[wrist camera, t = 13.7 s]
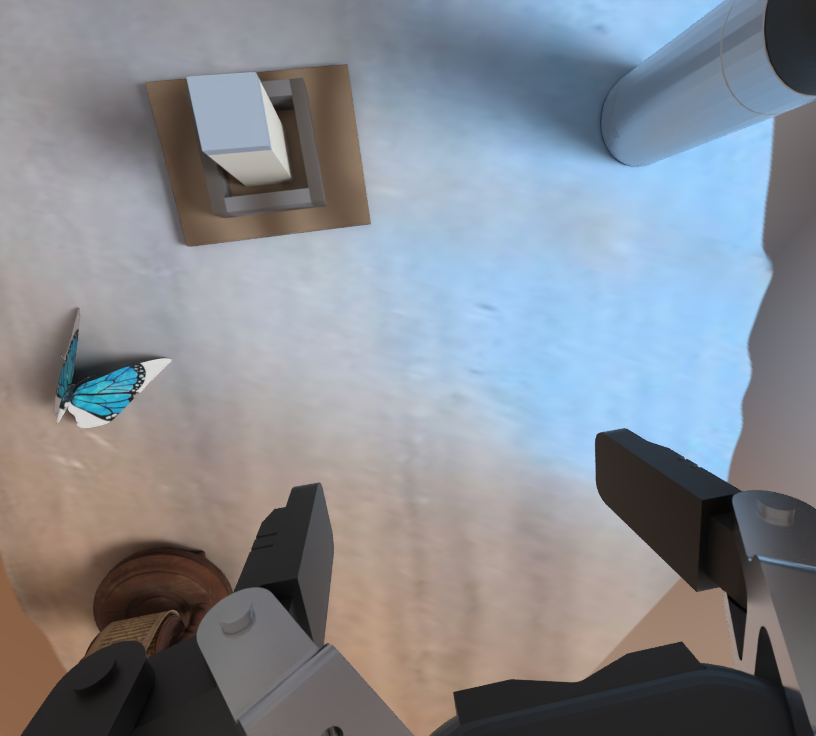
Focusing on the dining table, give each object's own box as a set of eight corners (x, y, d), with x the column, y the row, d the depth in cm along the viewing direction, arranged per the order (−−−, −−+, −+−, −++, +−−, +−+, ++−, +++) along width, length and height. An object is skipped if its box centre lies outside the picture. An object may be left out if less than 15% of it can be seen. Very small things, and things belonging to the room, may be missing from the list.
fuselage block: (285, 130, 37) (255, 71, 26) (293, 182, 38) (268, 145, 28) (236, 134, 37) (186, 76, 26) (246, 186, 38) (202, 150, 27)
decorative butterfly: (-4, 407, 37) (20, 325, 34) (53, 376, 43) (79, 304, 39) (102, 458, 39) (135, 387, 36) (143, 423, 45) (175, 358, 42)
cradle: (347, 69, 37) (346, 46, 34) (370, 224, 41) (371, 218, 37) (150, 87, 36) (125, 64, 32) (191, 246, 39) (172, 243, 35)
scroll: (220, 528, 46) (120, 707, 27) (250, 628, 50) (182, 850, 31) (89, 554, 45) (-113, 762, 26) (129, 655, 49) (-21, 903, 29)
